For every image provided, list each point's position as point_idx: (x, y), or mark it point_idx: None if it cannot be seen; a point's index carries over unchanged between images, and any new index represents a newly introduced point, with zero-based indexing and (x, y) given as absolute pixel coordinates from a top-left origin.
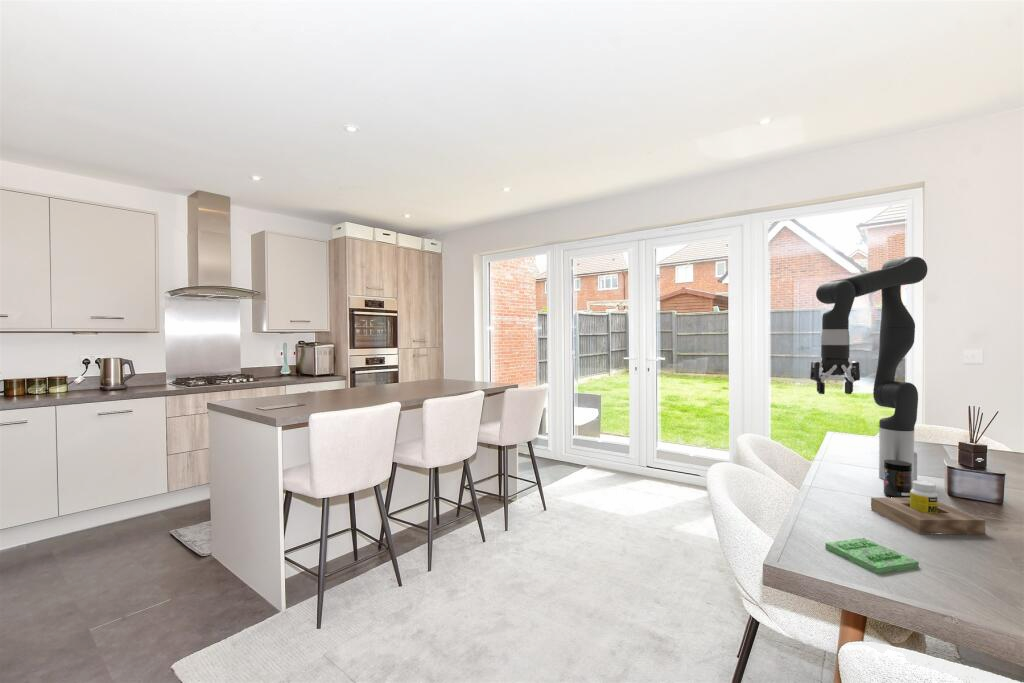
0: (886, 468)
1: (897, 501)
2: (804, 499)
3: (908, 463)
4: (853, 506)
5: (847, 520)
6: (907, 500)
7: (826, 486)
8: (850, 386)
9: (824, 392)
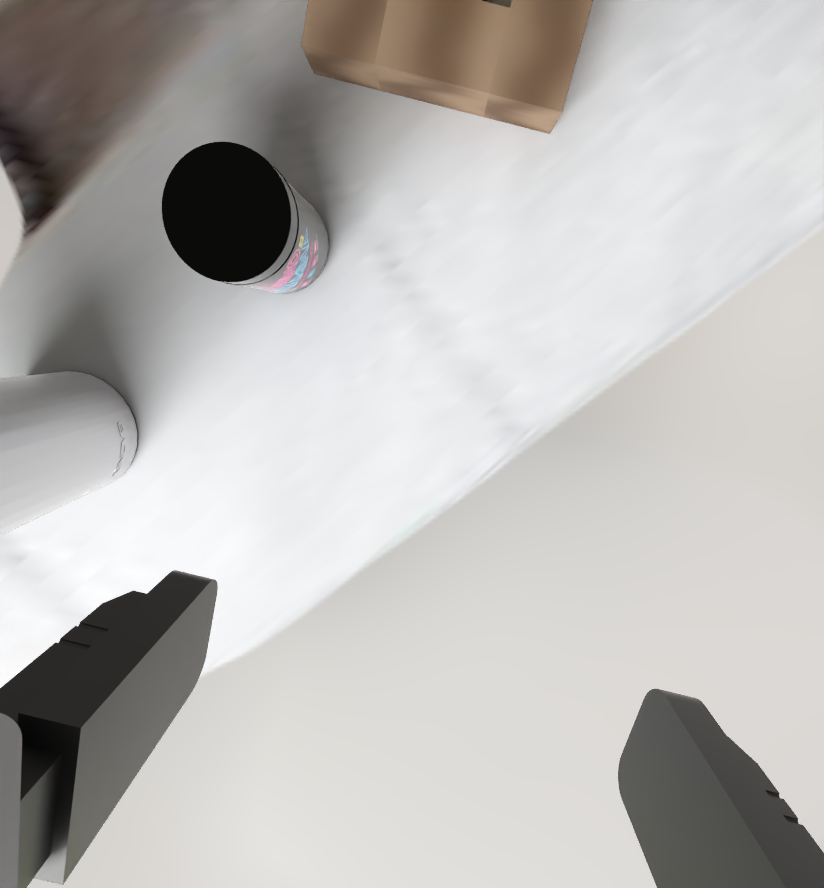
0: (297, 237)
1: (498, 33)
2: (699, 310)
3: (184, 179)
4: (579, 188)
5: (762, 52)
6: (439, 33)
7: (457, 426)
8: (117, 655)
9: (674, 699)
